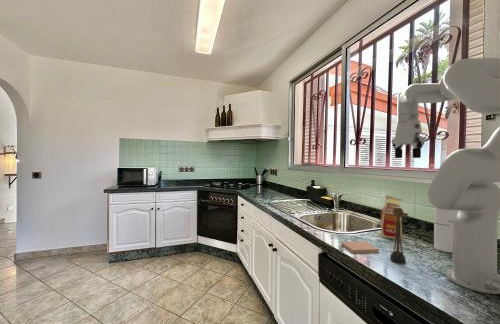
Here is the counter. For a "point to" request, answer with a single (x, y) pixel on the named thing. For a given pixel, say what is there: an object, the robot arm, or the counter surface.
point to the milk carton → (389, 217)
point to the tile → (360, 247)
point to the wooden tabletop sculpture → (397, 255)
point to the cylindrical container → (443, 229)
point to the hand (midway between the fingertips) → (407, 157)
